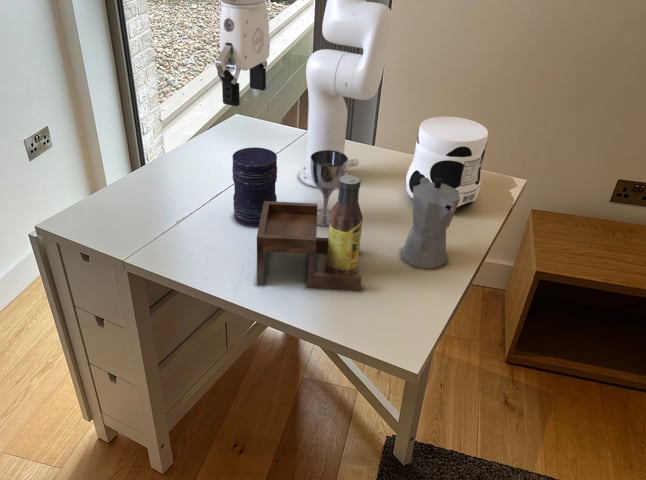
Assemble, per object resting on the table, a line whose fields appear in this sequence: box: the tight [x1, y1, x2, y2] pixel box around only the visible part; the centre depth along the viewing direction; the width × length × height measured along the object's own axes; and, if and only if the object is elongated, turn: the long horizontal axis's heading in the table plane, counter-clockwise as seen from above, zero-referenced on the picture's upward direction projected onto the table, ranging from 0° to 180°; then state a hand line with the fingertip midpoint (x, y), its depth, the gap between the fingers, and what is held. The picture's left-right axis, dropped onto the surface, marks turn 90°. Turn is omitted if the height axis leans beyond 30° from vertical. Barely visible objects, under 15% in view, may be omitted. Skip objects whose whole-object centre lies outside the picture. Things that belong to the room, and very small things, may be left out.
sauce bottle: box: [326, 174, 364, 274], centre depth 113 cm, size 6×6×20 cm
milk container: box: [405, 115, 489, 211], centre depth 138 cm, size 17×17×18 cm
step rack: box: [256, 201, 362, 292], centre depth 116 cm, size 20×14×11 cm
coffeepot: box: [402, 174, 460, 270], centre depth 118 cm, size 15×9×18 cm, turn 13°
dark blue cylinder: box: [231, 146, 278, 228], centre depth 131 cm, size 10×10×15 cm
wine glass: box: [310, 150, 348, 227], centre depth 131 cm, size 8×8×15 cm
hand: (245, 96), depth 108 cm, fingers open, 9 cm apart
